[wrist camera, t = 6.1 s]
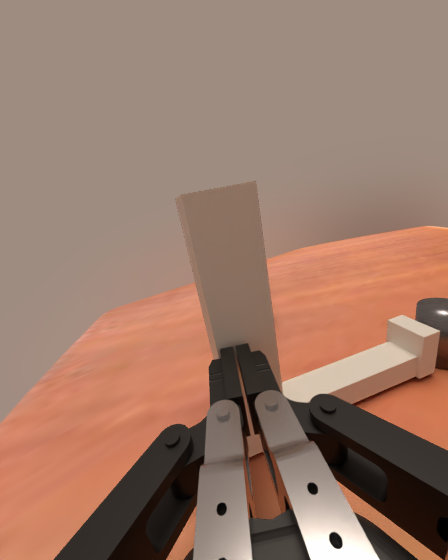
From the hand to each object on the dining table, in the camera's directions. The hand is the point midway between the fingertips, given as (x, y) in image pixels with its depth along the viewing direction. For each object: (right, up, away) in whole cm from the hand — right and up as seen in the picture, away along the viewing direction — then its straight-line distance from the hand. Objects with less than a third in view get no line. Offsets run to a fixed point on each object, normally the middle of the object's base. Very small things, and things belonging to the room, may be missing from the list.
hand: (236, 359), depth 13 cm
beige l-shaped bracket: (+8, -5, +6) cm, 11 cm away
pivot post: (+19, -3, +8) cm, 21 cm away
